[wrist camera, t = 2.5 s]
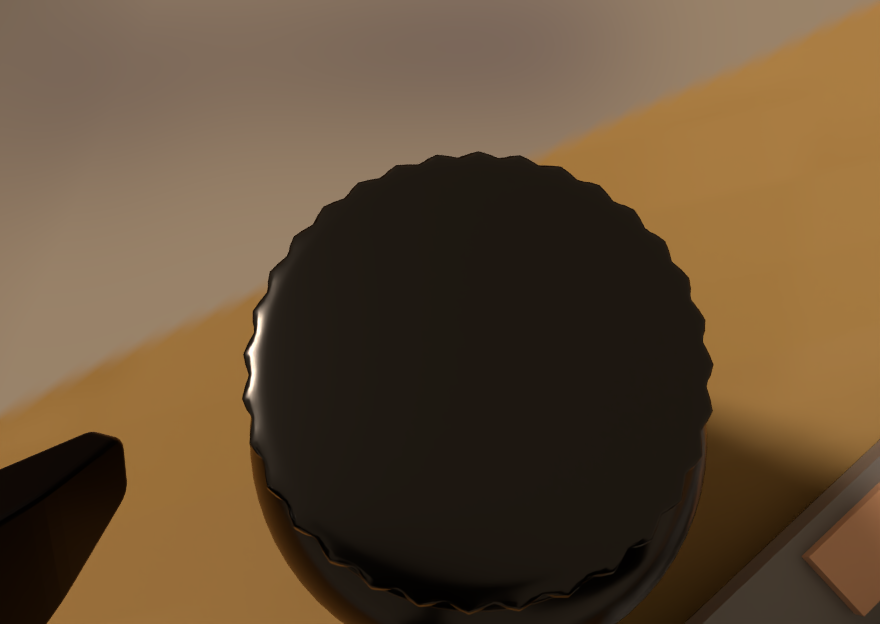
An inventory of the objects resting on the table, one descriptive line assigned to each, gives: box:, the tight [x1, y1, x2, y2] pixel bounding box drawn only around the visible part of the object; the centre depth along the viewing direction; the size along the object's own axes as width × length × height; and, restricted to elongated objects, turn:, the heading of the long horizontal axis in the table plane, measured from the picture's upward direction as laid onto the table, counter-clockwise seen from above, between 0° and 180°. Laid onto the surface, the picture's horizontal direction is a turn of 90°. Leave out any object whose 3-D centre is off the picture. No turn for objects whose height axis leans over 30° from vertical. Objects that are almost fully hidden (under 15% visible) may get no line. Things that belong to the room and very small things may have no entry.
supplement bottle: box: [242, 152, 713, 624], centre depth 13 cm, size 7×7×12 cm
